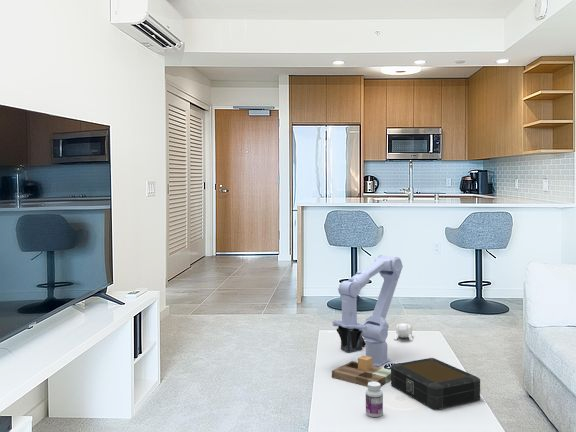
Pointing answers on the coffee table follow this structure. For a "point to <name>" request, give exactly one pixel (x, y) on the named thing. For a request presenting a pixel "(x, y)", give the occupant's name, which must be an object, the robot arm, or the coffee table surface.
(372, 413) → the pill bottle
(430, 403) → the cash box
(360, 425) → the coffee table surface
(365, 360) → the block
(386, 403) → the coffee table surface
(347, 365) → the trap board
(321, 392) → the coffee table surface
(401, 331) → the white rounded figure
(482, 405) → the coffee table surface
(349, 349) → the box
